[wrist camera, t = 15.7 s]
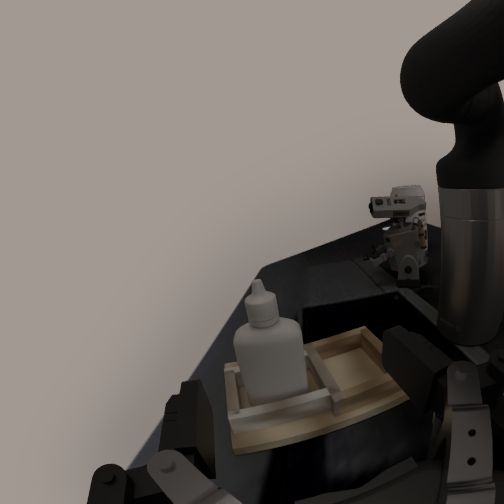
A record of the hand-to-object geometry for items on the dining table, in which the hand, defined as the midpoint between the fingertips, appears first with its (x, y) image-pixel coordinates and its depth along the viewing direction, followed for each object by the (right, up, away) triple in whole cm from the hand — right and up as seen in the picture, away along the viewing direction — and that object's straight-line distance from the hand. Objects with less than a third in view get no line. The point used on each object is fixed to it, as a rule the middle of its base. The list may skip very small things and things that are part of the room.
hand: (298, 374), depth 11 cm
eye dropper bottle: (+1, -9, +13) cm, 16 cm away
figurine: (+25, 0, +35) cm, 43 cm away
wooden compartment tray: (+4, -9, +15) cm, 18 cm away
